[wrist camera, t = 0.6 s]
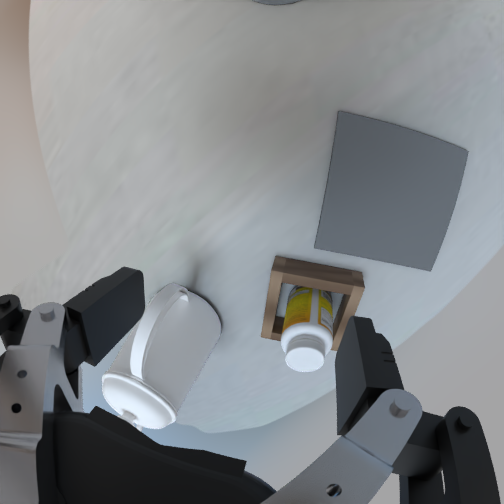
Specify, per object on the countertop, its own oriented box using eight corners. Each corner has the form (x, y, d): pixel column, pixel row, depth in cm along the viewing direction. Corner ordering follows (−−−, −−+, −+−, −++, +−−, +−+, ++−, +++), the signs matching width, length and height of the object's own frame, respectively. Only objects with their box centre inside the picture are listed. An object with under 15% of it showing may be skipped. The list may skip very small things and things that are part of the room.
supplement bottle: (283, 308, 34) (270, 368, 26) (296, 275, 31) (286, 335, 23) (322, 320, 34) (319, 381, 25) (339, 288, 31) (342, 350, 23)
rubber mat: (338, 111, 22) (338, 111, 22) (465, 150, 20) (468, 151, 20) (314, 245, 29) (314, 248, 29) (429, 268, 27) (430, 271, 27)
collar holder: (275, 255, 31) (271, 270, 28) (361, 272, 29) (364, 287, 27) (265, 321, 35) (260, 337, 33) (338, 334, 34) (338, 351, 32)
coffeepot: (150, 351, 45) (100, 434, 29) (161, 231, 32) (54, 335, 16) (206, 376, 45) (167, 468, 29) (245, 263, 32) (179, 405, 16)
